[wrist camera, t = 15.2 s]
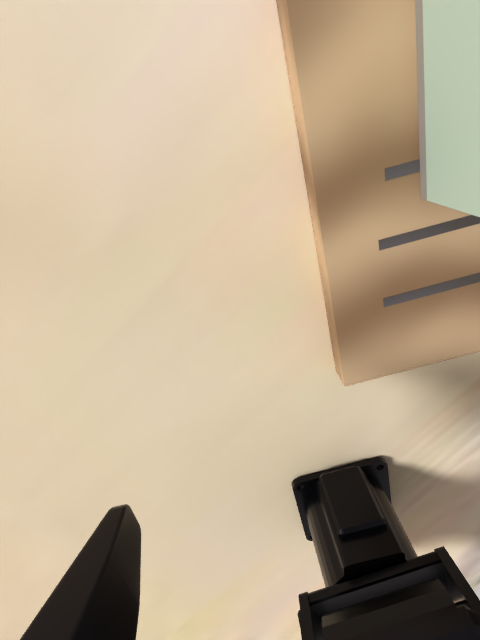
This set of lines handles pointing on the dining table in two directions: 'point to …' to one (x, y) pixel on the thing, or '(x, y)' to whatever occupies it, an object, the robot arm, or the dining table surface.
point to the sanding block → (449, 102)
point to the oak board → (376, 192)
